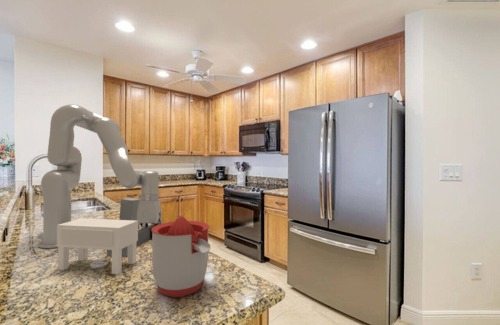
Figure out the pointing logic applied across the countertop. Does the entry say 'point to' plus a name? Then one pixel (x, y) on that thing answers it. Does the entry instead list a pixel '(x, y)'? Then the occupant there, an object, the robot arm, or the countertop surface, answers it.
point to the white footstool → (97, 240)
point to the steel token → (98, 264)
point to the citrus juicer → (180, 256)
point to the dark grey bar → (142, 238)
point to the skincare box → (129, 209)
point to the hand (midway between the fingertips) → (149, 237)
